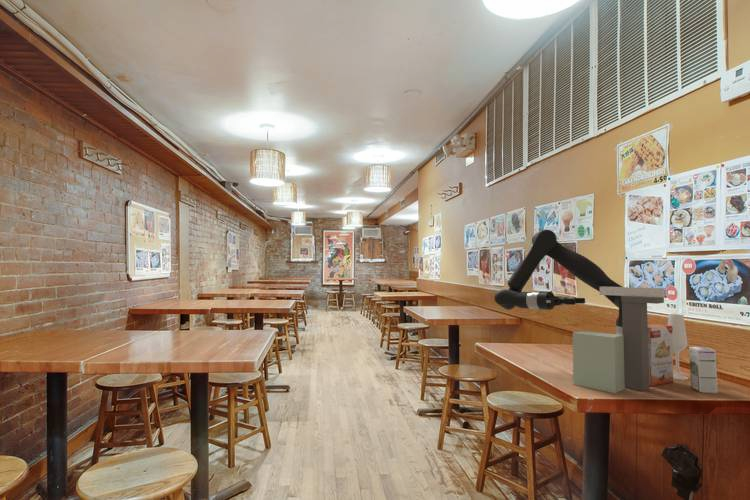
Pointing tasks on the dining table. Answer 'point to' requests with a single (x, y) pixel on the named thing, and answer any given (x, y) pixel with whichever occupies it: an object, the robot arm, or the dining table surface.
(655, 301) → the pedestal stand
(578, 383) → the block
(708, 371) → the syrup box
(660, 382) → the cracker box
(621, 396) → the dining table surface
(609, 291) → the aluminium bar
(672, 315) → the champagne flute
